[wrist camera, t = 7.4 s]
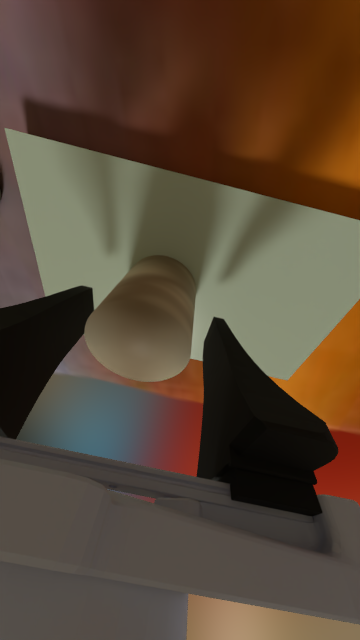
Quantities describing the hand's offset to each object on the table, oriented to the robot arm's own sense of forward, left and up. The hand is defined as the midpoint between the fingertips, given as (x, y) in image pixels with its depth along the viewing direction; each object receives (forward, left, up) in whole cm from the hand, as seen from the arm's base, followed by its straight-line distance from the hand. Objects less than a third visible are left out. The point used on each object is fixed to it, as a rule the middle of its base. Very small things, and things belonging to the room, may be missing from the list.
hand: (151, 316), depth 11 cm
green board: (-2, 0, -5) cm, 5 cm away
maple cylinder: (0, 0, -3) cm, 3 cm away
